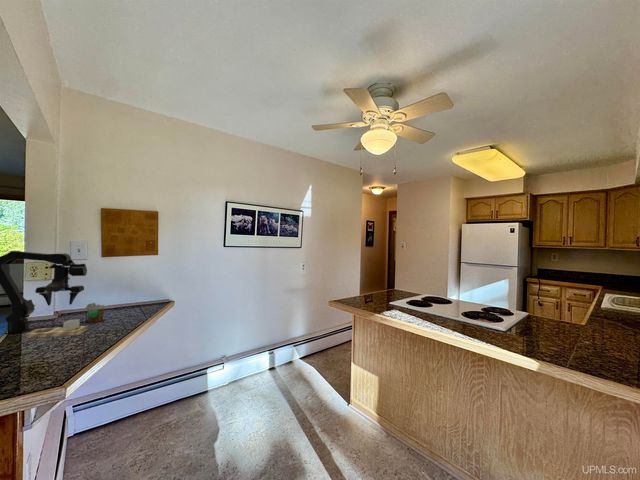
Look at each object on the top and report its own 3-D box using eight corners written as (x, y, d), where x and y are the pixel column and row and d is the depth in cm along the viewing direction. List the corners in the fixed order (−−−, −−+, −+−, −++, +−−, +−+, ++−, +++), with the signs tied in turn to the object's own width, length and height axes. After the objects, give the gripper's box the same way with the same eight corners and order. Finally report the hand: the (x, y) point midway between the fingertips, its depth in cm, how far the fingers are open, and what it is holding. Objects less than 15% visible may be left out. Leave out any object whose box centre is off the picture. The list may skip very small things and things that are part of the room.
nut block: (63, 334, 135) (63, 322, 135) (68, 331, 139) (68, 319, 139) (74, 333, 136) (74, 321, 136) (79, 330, 140) (79, 319, 141)
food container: (81, 321, 158) (81, 304, 158) (93, 319, 163) (94, 302, 163) (91, 324, 152) (91, 307, 152) (103, 322, 157) (104, 305, 158)
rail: (24, 338, 128) (25, 334, 128) (37, 332, 137) (37, 328, 137) (78, 334, 135) (78, 330, 135) (87, 329, 143) (87, 325, 143)
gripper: (28, 278, 135) (27, 309, 134) (74, 277, 141) (72, 307, 140) (43, 276, 145) (41, 304, 145) (85, 275, 151) (83, 303, 151)
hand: (59, 305), depth 145 cm, fingers open, 9 cm apart
